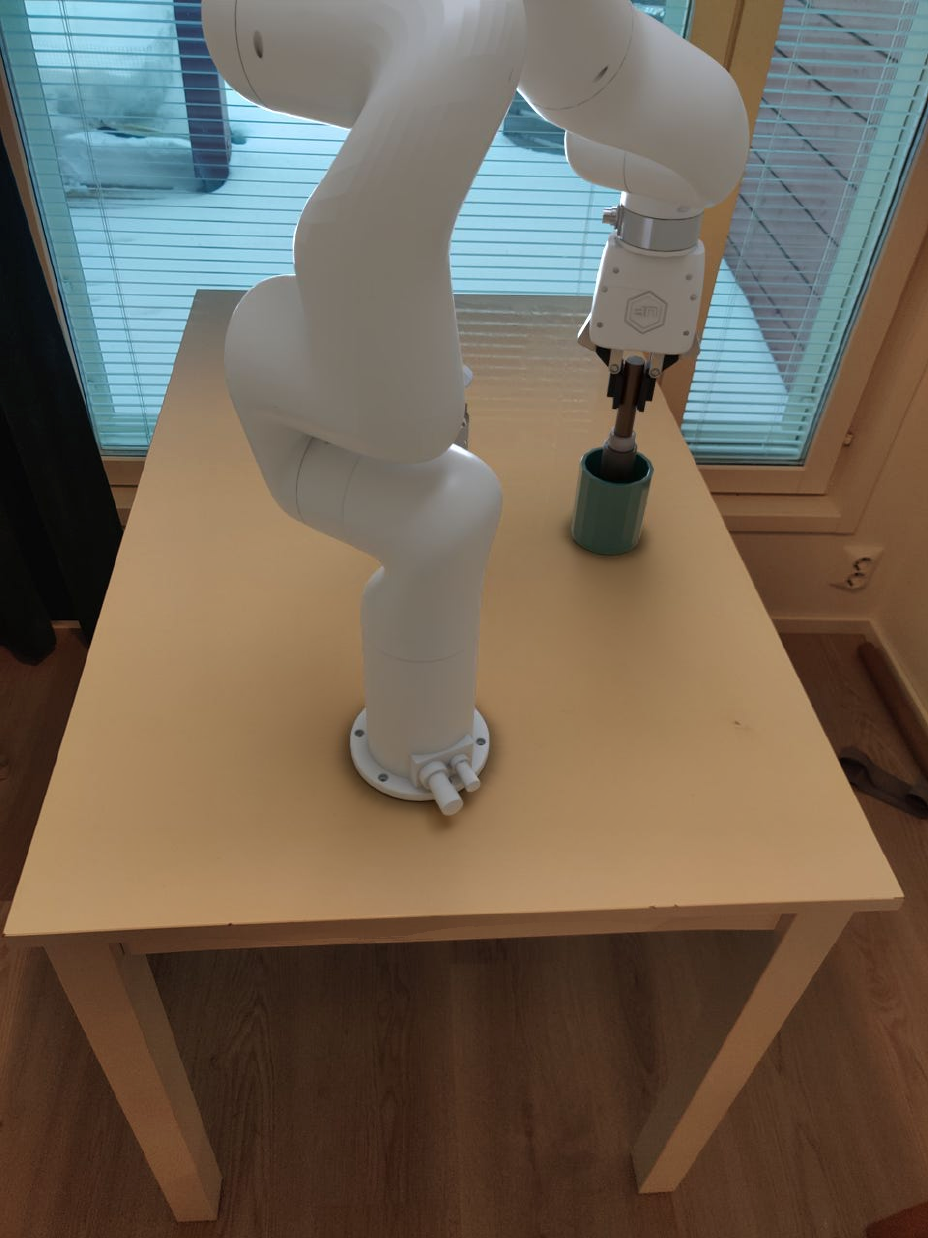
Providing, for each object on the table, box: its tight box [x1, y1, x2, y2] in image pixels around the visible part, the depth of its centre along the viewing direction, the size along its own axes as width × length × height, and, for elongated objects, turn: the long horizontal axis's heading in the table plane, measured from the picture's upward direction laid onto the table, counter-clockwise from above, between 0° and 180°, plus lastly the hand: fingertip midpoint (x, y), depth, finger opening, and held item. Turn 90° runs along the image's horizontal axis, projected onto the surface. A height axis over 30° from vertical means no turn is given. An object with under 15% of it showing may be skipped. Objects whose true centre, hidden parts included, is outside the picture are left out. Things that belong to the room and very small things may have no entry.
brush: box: [600, 355, 646, 481], centre depth 99 cm, size 4×4×14 cm
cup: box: [570, 445, 655, 556], centre depth 106 cm, size 8×8×10 cm
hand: (628, 403), depth 98 cm, fingers closed on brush, 2 cm apart
